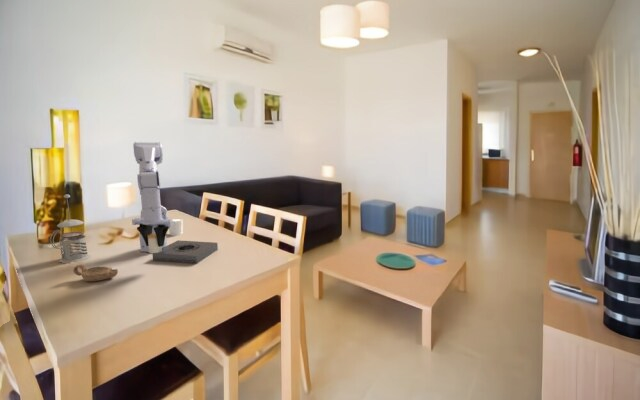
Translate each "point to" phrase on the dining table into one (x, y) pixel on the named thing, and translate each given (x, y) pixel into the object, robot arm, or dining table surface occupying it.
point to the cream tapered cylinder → (176, 227)
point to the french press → (76, 239)
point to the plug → (153, 243)
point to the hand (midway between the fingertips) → (155, 245)
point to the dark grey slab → (186, 252)
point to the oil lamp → (95, 273)
